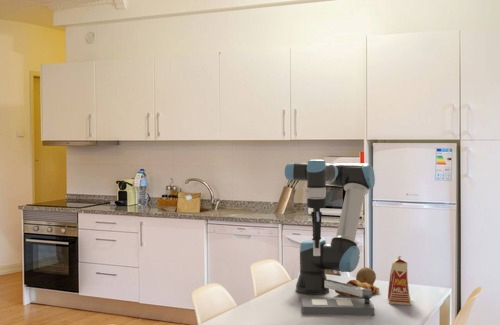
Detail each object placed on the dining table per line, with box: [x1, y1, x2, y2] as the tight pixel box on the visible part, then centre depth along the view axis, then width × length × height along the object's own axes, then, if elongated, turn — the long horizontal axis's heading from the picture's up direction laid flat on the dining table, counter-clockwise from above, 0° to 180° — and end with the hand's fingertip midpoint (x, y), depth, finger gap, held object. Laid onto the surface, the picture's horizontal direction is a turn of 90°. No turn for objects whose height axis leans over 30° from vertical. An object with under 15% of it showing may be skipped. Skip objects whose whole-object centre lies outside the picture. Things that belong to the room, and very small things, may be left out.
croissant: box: [334, 279, 380, 298], centre depth 252 cm, size 21×10×8 cm, turn 104°
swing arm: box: [324, 279, 373, 299], centre depth 233 cm, size 4×24×3 cm, turn 39°
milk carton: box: [387, 255, 412, 306], centre depth 240 cm, size 9×9×20 cm
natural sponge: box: [355, 267, 377, 285], centre depth 261 cm, size 9×9×10 cm
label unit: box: [301, 297, 376, 316], centre depth 226 cm, size 12×28×5 cm, turn 87°
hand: (316, 255), depth 228 cm, fingers closed
